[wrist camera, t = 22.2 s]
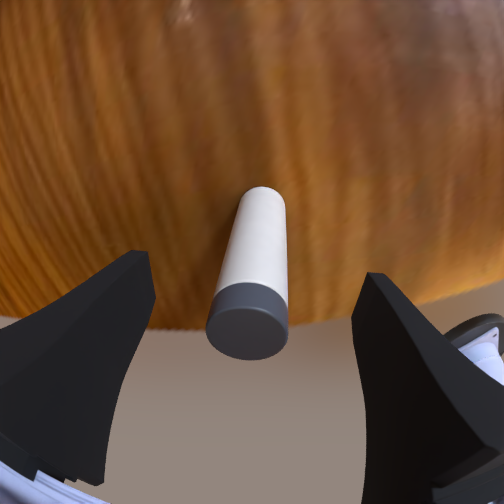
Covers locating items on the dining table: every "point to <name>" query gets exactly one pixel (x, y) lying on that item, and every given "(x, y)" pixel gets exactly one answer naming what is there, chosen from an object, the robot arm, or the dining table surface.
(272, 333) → the white grey-capped cylinder
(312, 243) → the dining table surface
